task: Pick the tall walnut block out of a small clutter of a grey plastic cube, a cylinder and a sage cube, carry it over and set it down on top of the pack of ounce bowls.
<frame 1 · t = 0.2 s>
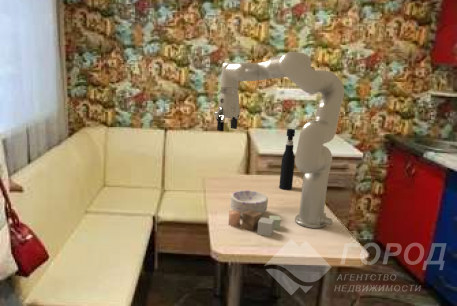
hand: (227, 129, 188), 31 cm above the table, fingers open, 9 cm apart
grey cube: (265, 233, 157), on the table
wine bottle: (285, 188, 212), on the table
walnut block: (250, 228, 161), on the table
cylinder: (234, 224, 163), on the table
sage cube: (274, 227, 163), on the table
paper bowls: (248, 214, 174), on the table
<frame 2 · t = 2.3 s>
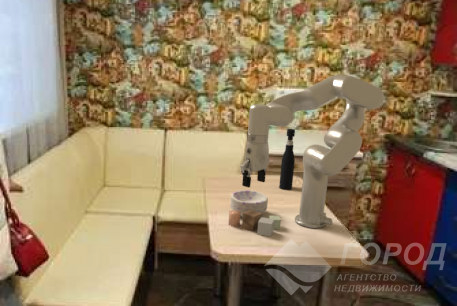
hand: (253, 183, 156), 18 cm above the table, fingers open, 9 cm apart
nothing on the table moved.
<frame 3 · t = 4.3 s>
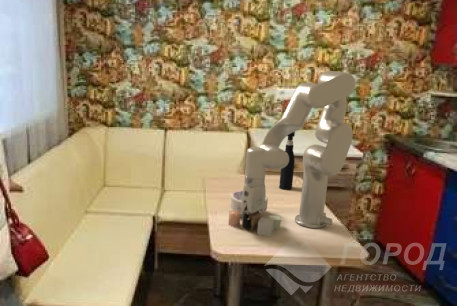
hand: (251, 225, 160), 1 cm above the table, fingers closed on walnut block, 5 cm apart
walnut block: (250, 227, 161), on the table, touching gripper
everything else where it was.
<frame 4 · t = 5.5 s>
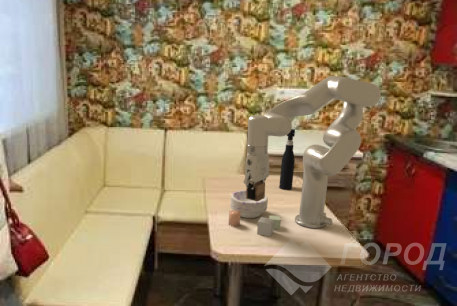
hand: (255, 196, 158), 13 cm above the table, fingers closed on walnut block, 5 cm apart
walnut block: (255, 198, 158), point 12 cm above the table, touching gripper
everything else where it was.
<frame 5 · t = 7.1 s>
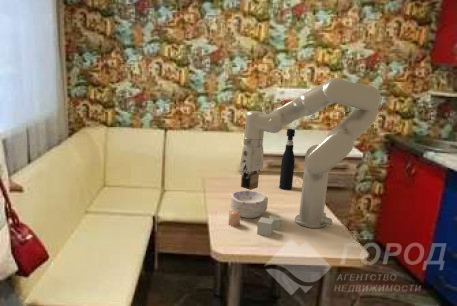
hand: (249, 185, 172), 12 cm above the table, fingers closed on walnut block, 5 cm apart
walnut block: (249, 187, 172), point 12 cm above the table, touching gripper
everything else where it was.
when the fingers open (9 cm above the table, at t = 8.1 s): walnut block stays where it is, resting on paper bowls.
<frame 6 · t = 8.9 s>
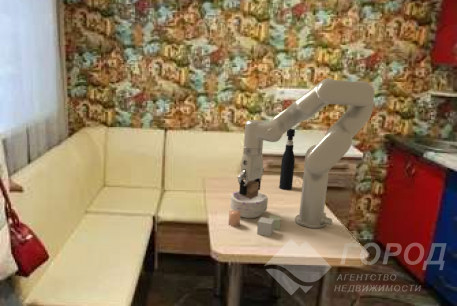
hand: (249, 191, 172), 10 cm above the table, fingers open, 9 cm apart
walnut block: (249, 195, 173), point 8 cm above the table, touching paper bowls
paper bowls: (248, 214, 174), on the table, touching walnut block
everything else where it was.
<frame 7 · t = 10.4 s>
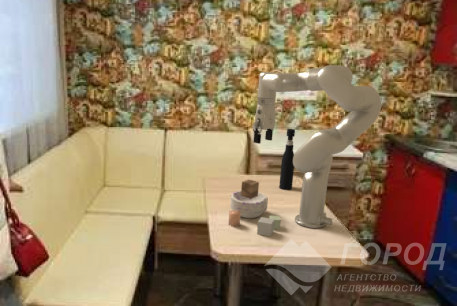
hand: (262, 141, 182), 28 cm above the table, fingers open, 9 cm apart
nothing on the table moved.
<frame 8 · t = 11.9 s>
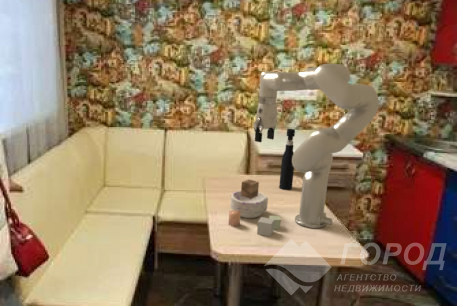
hand: (264, 140, 183), 28 cm above the table, fingers open, 9 cm apart
nothing on the table moved.
at the end: walnut block inside the target area on the paper bowls (0.0 cm from its centre), point 8.1 cm above the paper bowls's base; the gripper is holding nothing; grey cube moved 0.2 cm from its start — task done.
